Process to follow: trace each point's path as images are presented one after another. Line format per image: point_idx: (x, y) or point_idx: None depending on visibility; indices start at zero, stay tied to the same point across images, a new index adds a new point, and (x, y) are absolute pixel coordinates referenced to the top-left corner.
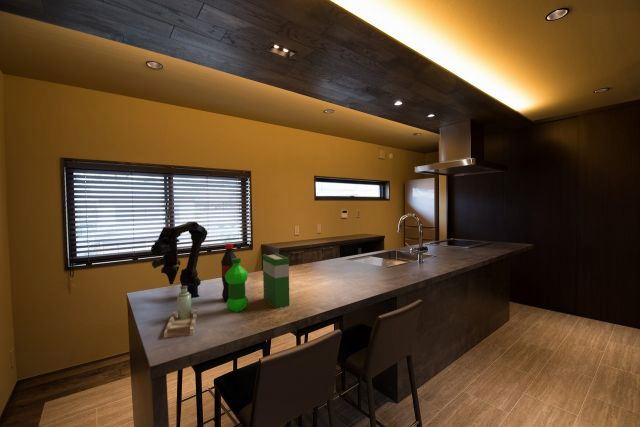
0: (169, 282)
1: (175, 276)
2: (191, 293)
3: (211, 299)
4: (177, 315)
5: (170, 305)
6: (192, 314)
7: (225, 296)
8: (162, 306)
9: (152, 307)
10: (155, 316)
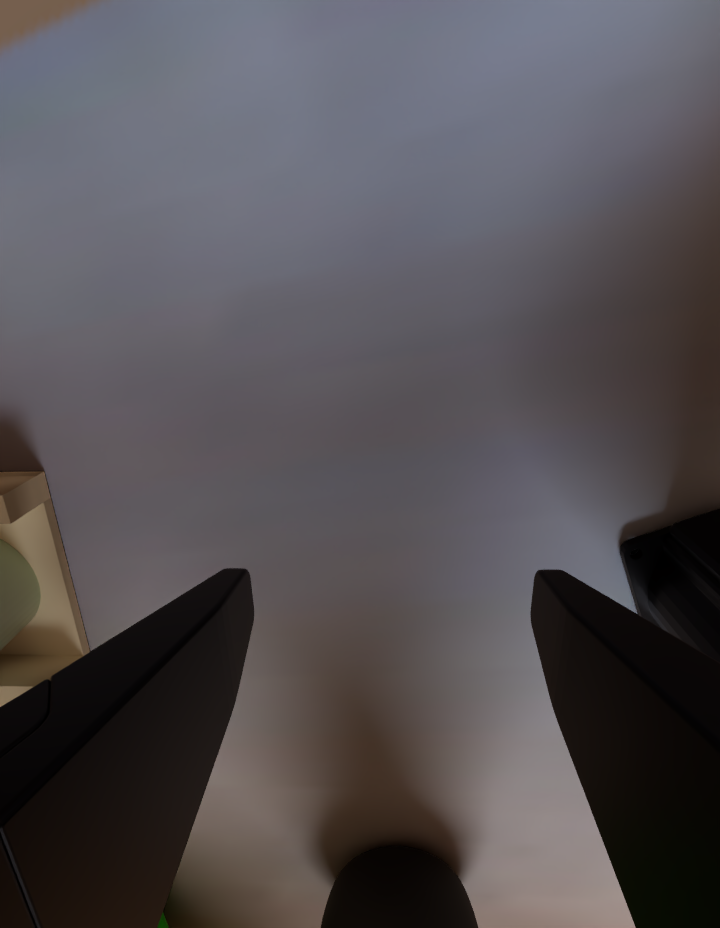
0: (184, 594)
1: (586, 787)
2: (669, 620)
3: (474, 757)
4: (26, 514)
5: (441, 377)
6: (37, 637)
7: (335, 908)
8: (440, 276)
9: (451, 129)
10: (72, 268)
